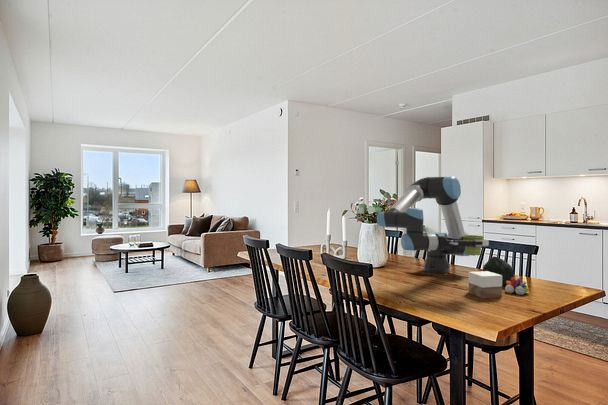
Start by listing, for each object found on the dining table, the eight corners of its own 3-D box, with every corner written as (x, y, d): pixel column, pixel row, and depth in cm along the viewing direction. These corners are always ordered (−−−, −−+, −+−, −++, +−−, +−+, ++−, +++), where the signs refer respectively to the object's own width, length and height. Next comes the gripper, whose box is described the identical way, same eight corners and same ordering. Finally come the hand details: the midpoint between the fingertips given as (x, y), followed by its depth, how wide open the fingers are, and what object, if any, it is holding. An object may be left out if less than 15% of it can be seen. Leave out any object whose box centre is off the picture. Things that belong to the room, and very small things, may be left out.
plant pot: (482, 257, 170) (482, 237, 170) (460, 255, 176) (460, 236, 175) (485, 254, 178) (485, 235, 178) (464, 252, 183) (464, 234, 183)
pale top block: (468, 282, 179) (468, 271, 179) (487, 281, 181) (487, 271, 181) (482, 287, 169) (482, 276, 169) (502, 286, 171) (502, 275, 171)
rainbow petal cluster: (508, 289, 185) (508, 274, 185) (530, 293, 178) (531, 277, 178) (502, 292, 179) (502, 277, 179) (525, 296, 172) (525, 280, 172)
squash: (515, 271, 202) (495, 249, 204) (523, 278, 187) (501, 254, 189) (493, 287, 205) (473, 266, 207) (499, 295, 191) (477, 272, 193)
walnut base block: (468, 292, 179) (468, 282, 179) (488, 292, 180) (488, 281, 180) (480, 298, 169) (480, 287, 169) (501, 297, 171) (501, 286, 170)
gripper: (426, 247, 186) (471, 246, 188) (445, 253, 165) (495, 253, 166) (426, 231, 186) (471, 231, 187) (445, 236, 165) (495, 236, 166)
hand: (483, 241), depth 177 cm, fingers closed on plant pot, 8 cm apart
